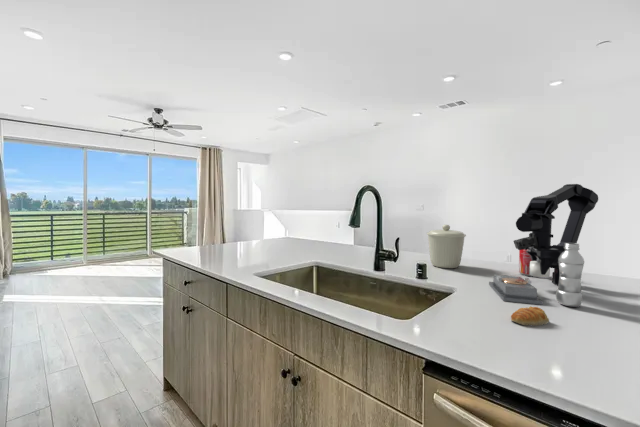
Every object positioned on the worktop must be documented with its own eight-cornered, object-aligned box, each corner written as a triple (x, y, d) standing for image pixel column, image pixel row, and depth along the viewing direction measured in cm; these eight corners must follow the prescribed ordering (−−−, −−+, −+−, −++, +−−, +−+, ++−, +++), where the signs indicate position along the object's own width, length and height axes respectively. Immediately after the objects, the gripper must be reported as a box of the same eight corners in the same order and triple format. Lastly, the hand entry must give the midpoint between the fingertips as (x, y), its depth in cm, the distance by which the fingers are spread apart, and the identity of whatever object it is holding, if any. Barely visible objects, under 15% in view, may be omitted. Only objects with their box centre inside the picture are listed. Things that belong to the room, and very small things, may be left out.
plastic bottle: (575, 303, 97) (578, 242, 96) (586, 310, 90) (590, 245, 89) (552, 300, 99) (554, 241, 98) (560, 307, 93) (564, 244, 92)
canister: (472, 270, 140) (473, 226, 139) (433, 270, 140) (434, 226, 139) (455, 262, 158) (456, 223, 157) (421, 262, 158) (422, 222, 157)
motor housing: (521, 287, 114) (521, 272, 114) (542, 304, 95) (543, 287, 95) (488, 284, 117) (489, 270, 117) (503, 301, 98) (504, 284, 98)
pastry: (527, 329, 77) (528, 315, 77) (503, 320, 84) (503, 306, 83) (551, 324, 81) (551, 310, 80) (526, 315, 87) (526, 302, 87)
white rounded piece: (545, 274, 113) (546, 257, 113) (552, 278, 107) (553, 260, 107) (527, 273, 115) (527, 256, 115) (533, 277, 109) (533, 259, 109)
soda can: (541, 277, 129) (543, 247, 129) (525, 277, 130) (526, 247, 129) (530, 273, 137) (531, 245, 136) (514, 272, 137) (516, 245, 136)
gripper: (509, 227, 122) (507, 265, 122) (525, 232, 104) (523, 276, 105) (541, 228, 118) (539, 267, 119) (563, 234, 100) (561, 279, 101)
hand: (539, 272), depth 111 cm, fingers closed on white rounded piece, 6 cm apart
